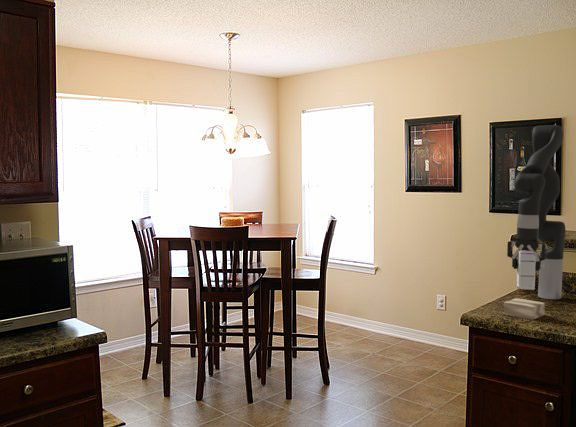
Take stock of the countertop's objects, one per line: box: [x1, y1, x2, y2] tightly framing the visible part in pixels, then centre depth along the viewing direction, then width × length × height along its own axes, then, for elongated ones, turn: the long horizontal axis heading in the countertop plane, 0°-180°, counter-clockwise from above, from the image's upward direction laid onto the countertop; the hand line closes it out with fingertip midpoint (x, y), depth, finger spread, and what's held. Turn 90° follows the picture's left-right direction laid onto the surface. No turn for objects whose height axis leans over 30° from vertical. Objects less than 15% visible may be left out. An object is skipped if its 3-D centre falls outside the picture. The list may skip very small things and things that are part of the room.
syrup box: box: [516, 250, 536, 291], centre depth 220 cm, size 6×6×14 cm
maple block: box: [503, 297, 546, 321], centre depth 221 cm, size 11×11×5 cm
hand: (526, 269), depth 220 cm, fingers closed on syrup box, 7 cm apart
